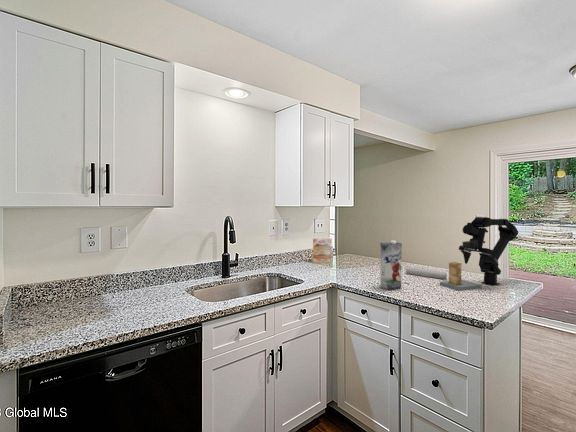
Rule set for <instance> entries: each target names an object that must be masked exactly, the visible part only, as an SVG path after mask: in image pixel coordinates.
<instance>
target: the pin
mask: <svg viewBox="0 0 576 432" xmlns="http://www.w3.org/2000/svg"><path fill="white" fill-rule="evenodd" d="M462 267H463V266H462V262H458V261H449V262H448V281H449V284H452V285H455V286H456V285H461V280H462Z"/></svg>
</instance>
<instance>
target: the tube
mask: <svg viewBox="0 0 576 432" xmlns="http://www.w3.org/2000/svg"><path fill="white" fill-rule="evenodd" d="M405 274H406V275H413V276H419V277H427V278H432V279H438V280H439V279H440V280H446V279H447V277H448V275H447V272H446V271H440V270H432V269H426V268H420V267H413V266H412V267H411V266H406V268H405Z"/></svg>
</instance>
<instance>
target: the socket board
mask: <svg viewBox="0 0 576 432" xmlns="http://www.w3.org/2000/svg"><path fill="white" fill-rule="evenodd" d="M439 286H442V287H444V288H447V289H451V290H453V291H456V292H461V291H471V290H476V289H477V290H478V289H479V290H480V289H481V288H482V285H481V284H479V283H476V282H472V281H468V280H465V279H461V285H456V286H455V285H452V284H449V280H444V281H443V280H442V281H439Z"/></svg>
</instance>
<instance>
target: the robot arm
mask: <svg viewBox="0 0 576 432" xmlns="http://www.w3.org/2000/svg"><path fill="white" fill-rule="evenodd" d="M491 226H498V227H497V231H498V232H499V233H498V234H499V238H498V240H497V242H496V243H495V245H494V246H493V248H492V249H490V248H487V247H483V246H484V244H485V243H486V241H485V235H486V233H489V230H488V229H487V228H489V227H491ZM462 233H463V234H465V235H468V236H470V237H471V238H470V239H469V240H466V241H465V240H464V241H462V244H461V245H459V246H458V250H459V251H460V252H461V254H462V256H463V259H464V264H466V265H467V264H468V263H469V260H470V257H471V255H472V252H474V253H475V252H476V253H479V262H478V266H479V267H480V269H479V270H480V272H481V273H483V274H484V275H483V281H481V283H482V284H486V285H488V286H489V285H490V286H495V285H500V283H499V282H498V276H499V275H501V272H502V270H501V269H500V267H499V259H500V258H501V256H502V254H503V252H504V251H505V249H506V247H507V246H508V244H509V243H510V242H511V241H513V240H515V238H517V236H518V234H519V230H518V228H517V226H515V224H513V223H512V222H510V220H509V219H507V218H491V217H487V216H476V217H475V218H474V219H473V220H472V221H471V222H466V224H465V225H464V226H463V228H462Z"/></svg>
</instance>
